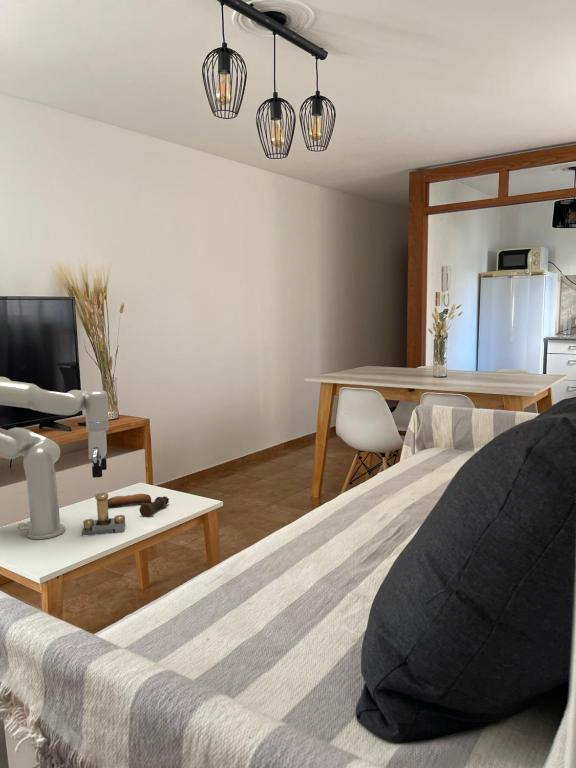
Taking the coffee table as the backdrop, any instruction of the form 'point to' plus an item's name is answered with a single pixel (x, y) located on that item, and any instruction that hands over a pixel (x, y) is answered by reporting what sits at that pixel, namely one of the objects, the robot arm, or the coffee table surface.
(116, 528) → the brass knob on bracket
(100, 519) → the link pin
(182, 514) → the coffee table surface
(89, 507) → the coffee table surface
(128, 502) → the sunglasses case
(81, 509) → the coffee table surface
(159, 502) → the bolt
